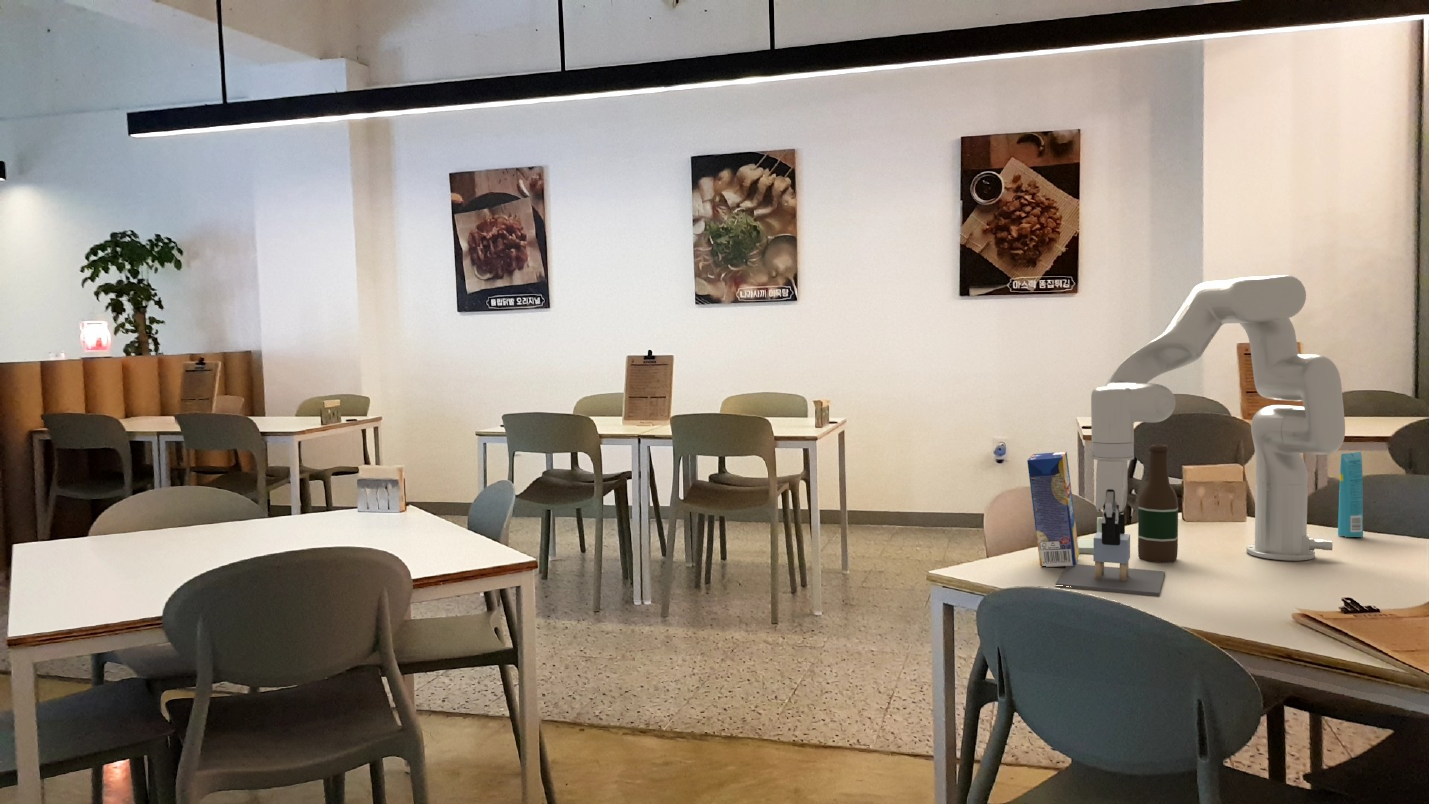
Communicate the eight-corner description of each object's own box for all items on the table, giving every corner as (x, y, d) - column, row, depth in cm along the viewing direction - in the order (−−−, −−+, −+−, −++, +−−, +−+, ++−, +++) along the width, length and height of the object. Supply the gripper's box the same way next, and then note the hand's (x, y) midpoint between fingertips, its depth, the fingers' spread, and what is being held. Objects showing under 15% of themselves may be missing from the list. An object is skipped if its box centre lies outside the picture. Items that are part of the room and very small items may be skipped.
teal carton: (1346, 532, 235) (1348, 450, 234) (1369, 536, 231) (1371, 452, 230) (1330, 536, 231) (1332, 453, 229) (1353, 540, 227) (1355, 454, 225)
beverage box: (1079, 554, 214) (1066, 451, 214) (1075, 565, 204) (1062, 457, 204) (1045, 555, 217) (1033, 454, 216) (1040, 567, 207) (1027, 460, 206)
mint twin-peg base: (1104, 544, 227) (1105, 516, 227) (1113, 553, 218) (1113, 525, 217) (1058, 543, 229) (1058, 516, 229) (1064, 552, 220) (1064, 524, 219)
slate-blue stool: (1096, 572, 199) (1097, 532, 198) (1129, 575, 196) (1130, 534, 196) (1093, 579, 194) (1093, 538, 193) (1127, 582, 191) (1127, 540, 190)
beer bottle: (1182, 563, 208) (1183, 447, 206) (1141, 562, 209) (1142, 447, 208) (1173, 555, 215) (1174, 442, 214) (1134, 554, 217) (1135, 442, 215)
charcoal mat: (1164, 574, 199) (1164, 571, 199) (1159, 596, 183) (1159, 592, 183) (1068, 566, 207) (1068, 563, 207) (1055, 586, 191) (1055, 583, 191)
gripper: (1096, 445, 203) (1097, 529, 204) (1086, 456, 187) (1087, 547, 189) (1137, 445, 199) (1138, 531, 201) (1130, 457, 184) (1130, 550, 185)
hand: (1113, 539), depth 195 cm, fingers open, 9 cm apart
